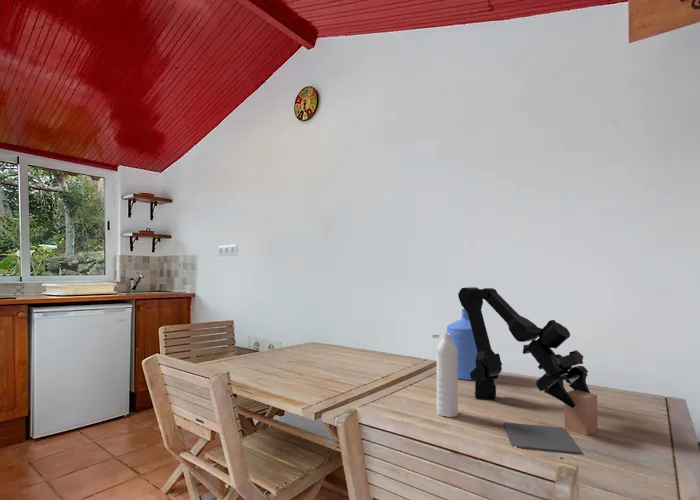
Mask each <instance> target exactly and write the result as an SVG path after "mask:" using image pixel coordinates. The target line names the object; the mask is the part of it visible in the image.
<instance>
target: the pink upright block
mask: <svg viewBox="0 0 700 500" xmlns="http://www.w3.org/2000/svg"><path fill="white" fill-rule="evenodd" d="M567 393H568V394H569V396H570V397H571V399H572V400H573V402H574V404H575V407H574V408H572V407H570V406H569V405H567V404H565V403H564V402H563V405H564V429H565V430H568V431H569V430H570V431H572V432H575V433H578V434H580V435H583V436H589V435H591V434H593V433H597V432H598V430H599V428H598V427H599V426H598V420H599V419H598V395H597V394H594V393H591V392H590V393H587V392H583V391H579V390H574V389H573V390H570V391H567Z"/></svg>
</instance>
